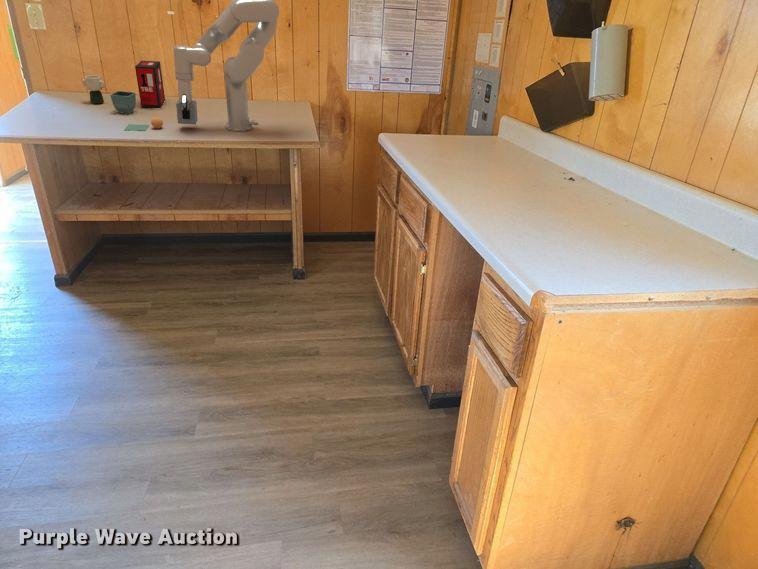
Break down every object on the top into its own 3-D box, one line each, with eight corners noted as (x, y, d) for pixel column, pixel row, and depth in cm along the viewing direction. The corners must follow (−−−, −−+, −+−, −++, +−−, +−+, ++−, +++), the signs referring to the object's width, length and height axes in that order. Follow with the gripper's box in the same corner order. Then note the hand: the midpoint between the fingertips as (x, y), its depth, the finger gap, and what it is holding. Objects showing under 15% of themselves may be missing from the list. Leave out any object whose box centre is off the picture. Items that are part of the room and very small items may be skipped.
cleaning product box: (160, 108, 270) (154, 67, 259) (141, 108, 268) (135, 66, 257) (165, 101, 283) (159, 61, 273) (147, 100, 282) (141, 60, 271)
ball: (164, 126, 244) (162, 116, 242) (162, 130, 240) (161, 118, 237) (153, 126, 243) (151, 115, 241) (151, 129, 239) (149, 118, 237)
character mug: (111, 102, 273) (106, 76, 266) (104, 105, 267) (99, 78, 260) (90, 100, 273) (85, 74, 266) (83, 103, 267) (77, 76, 260)
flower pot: (131, 115, 256) (128, 96, 251) (113, 113, 256) (109, 94, 251) (138, 110, 263) (135, 92, 259) (121, 109, 263) (117, 90, 259)
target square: (149, 125, 245) (149, 124, 244) (145, 130, 237) (145, 130, 237) (128, 124, 243) (128, 124, 243) (124, 130, 235) (124, 129, 235)
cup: (197, 120, 246) (196, 100, 242) (195, 124, 240) (194, 104, 235) (180, 119, 245) (178, 99, 240) (177, 123, 238) (176, 103, 234)
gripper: (178, 71, 239) (181, 111, 248) (172, 79, 224) (176, 121, 233) (195, 73, 240) (198, 112, 249) (191, 80, 226) (194, 122, 235)
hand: (187, 116), depth 241 cm, fingers closed on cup, 7 cm apart
